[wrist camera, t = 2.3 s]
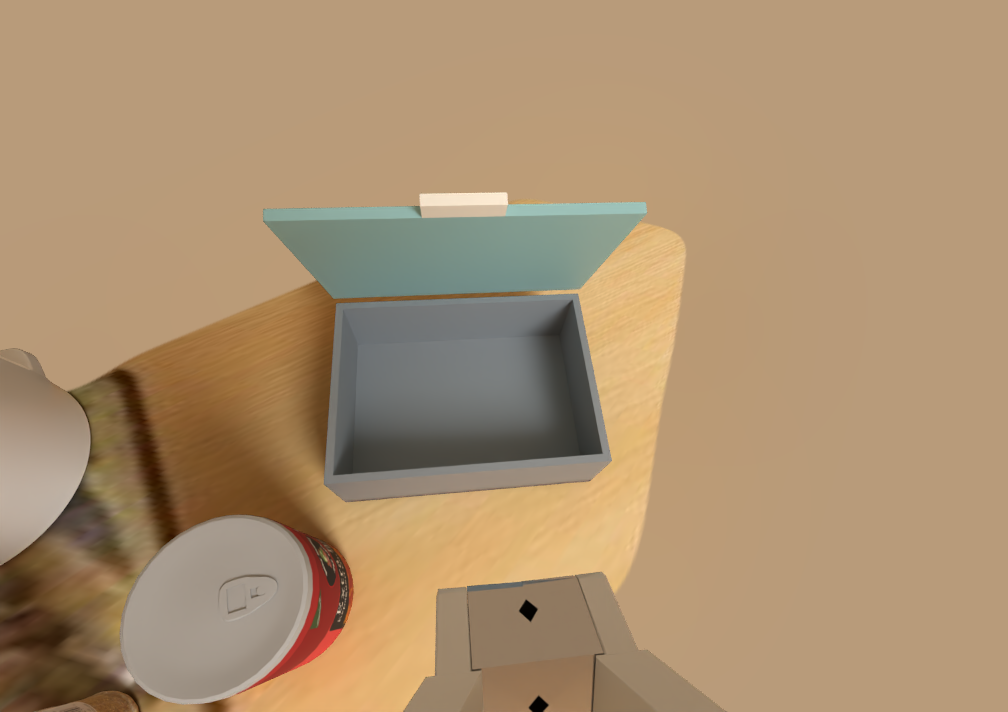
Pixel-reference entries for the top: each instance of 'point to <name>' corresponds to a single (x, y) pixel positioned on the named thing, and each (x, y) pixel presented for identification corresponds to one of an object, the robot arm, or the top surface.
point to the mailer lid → (453, 244)
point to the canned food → (232, 608)
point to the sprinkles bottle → (99, 704)
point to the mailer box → (461, 397)
